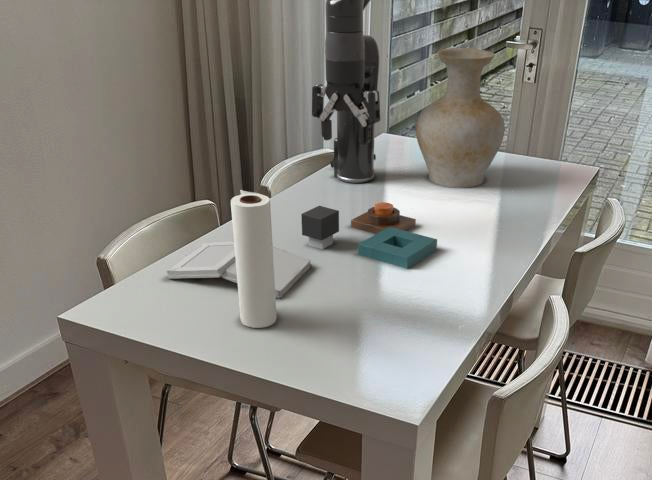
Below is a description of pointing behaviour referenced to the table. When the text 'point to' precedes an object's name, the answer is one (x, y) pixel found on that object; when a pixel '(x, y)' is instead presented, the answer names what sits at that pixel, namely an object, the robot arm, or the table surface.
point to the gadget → (222, 262)
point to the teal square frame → (397, 247)
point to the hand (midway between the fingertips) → (345, 142)
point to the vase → (460, 123)
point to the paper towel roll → (254, 258)
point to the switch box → (382, 221)
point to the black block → (320, 226)
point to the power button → (383, 208)
